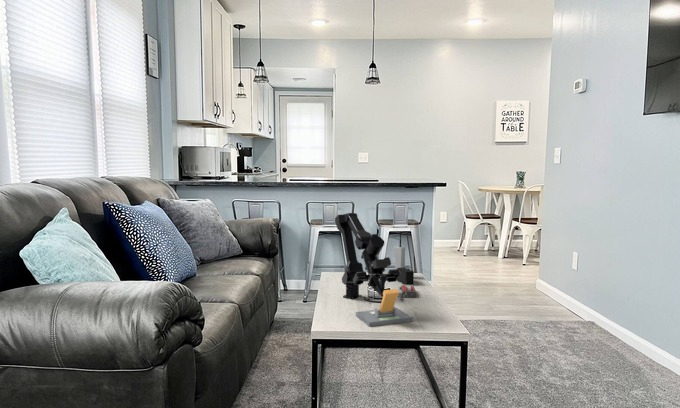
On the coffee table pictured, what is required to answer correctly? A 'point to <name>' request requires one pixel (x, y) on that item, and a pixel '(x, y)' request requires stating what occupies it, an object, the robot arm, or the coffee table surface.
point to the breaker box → (383, 317)
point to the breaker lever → (388, 301)
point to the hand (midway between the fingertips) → (383, 295)
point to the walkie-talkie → (407, 291)
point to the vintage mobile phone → (399, 255)
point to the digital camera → (406, 276)
